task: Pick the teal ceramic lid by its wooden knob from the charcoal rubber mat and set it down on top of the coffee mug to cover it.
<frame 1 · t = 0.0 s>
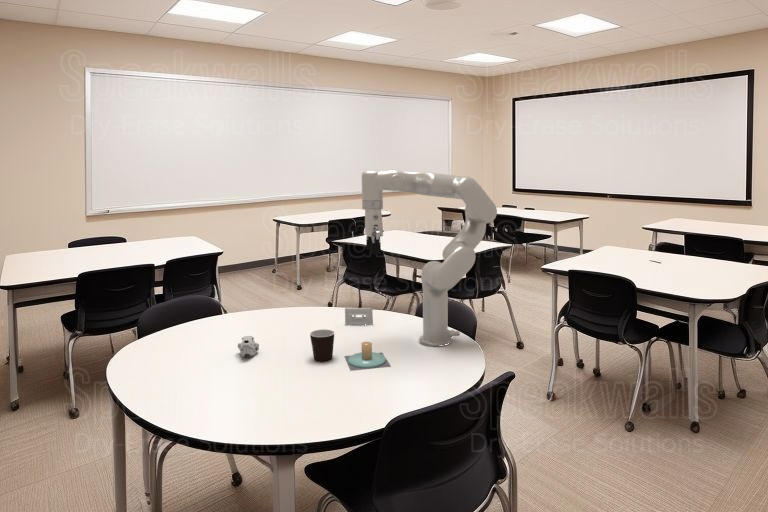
hand: (373, 251, 193), 37 cm above the table, tool pointing down, fingers open, 9 cm apart
coffee mug: (324, 359, 188), on the table
cassette: (359, 325, 227), on the table
lid: (367, 361, 183), point 1 cm above the table, touching mat
skull: (247, 355, 193), on the table
mat: (367, 362, 184), on the table
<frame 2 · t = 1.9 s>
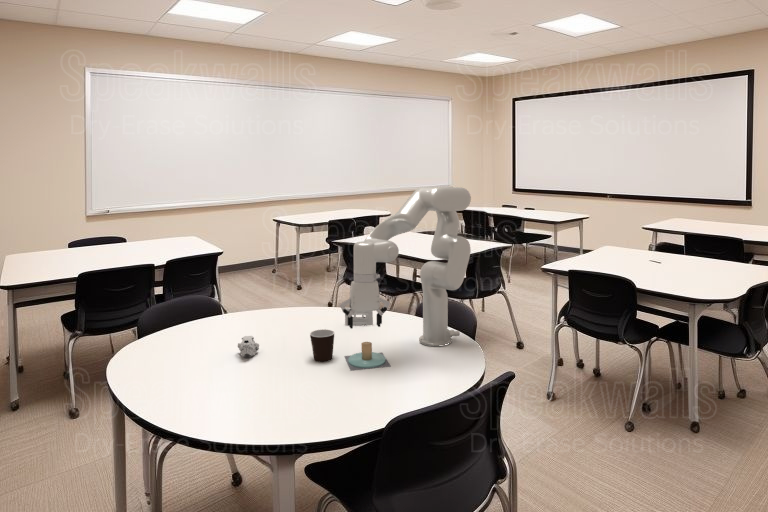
hand: (364, 326, 181), 13 cm above the table, tool pointing down, fingers open, 9 cm apart
nothing on the table moved.
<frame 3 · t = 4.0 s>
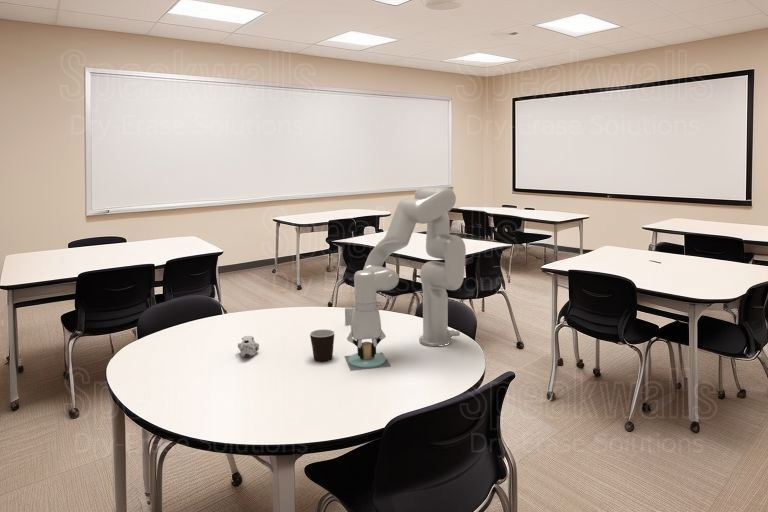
hand: (366, 356, 183), 2 cm above the table, tool pointing down, fingers closed on lid, 3 cm apart
lid: (367, 361, 183), point 1 cm above the table, touching gripper, mat
everything else where it was.
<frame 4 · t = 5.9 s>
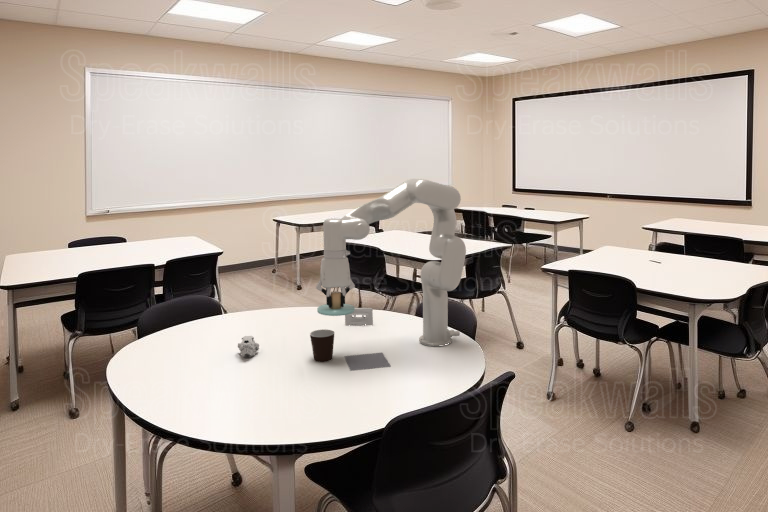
hand: (335, 306, 183), 20 cm above the table, tool pointing down, fingers closed on lid, 3 cm apart
lid: (336, 310, 183), point 18 cm above the table, touching gripper
everything else where it was.
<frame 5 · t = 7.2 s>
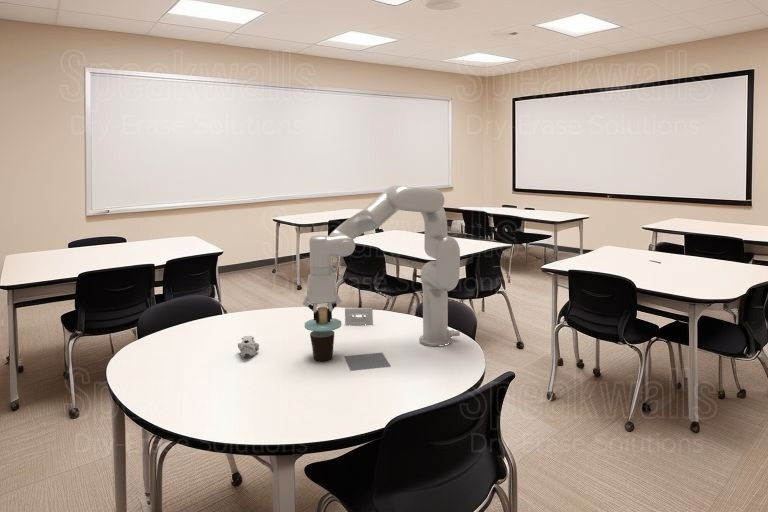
hand: (322, 321, 186), 14 cm above the table, tool pointing down, fingers closed on lid, 3 cm apart
lid: (323, 325, 186), point 12 cm above the table, touching gripper
everything else where it was.
when the fingers open (13 cm above the table, at t = 8.0 s): lid drops 2 cm, resting on coffee mug.
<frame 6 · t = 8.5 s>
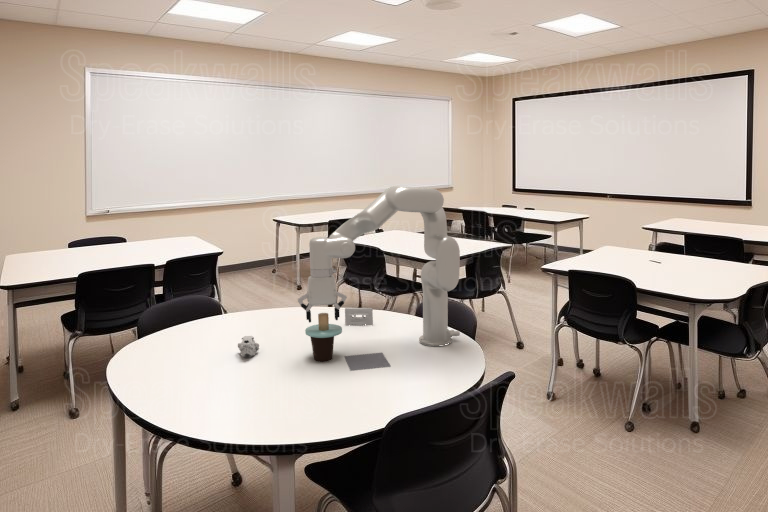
hand: (323, 320, 186), 14 cm above the table, tool pointing down, fingers open, 9 cm apart
coffee mug: (324, 359, 188), on the table, touching lid
lid: (323, 331, 187), point 10 cm above the table, touching coffee mug
everything else where it was.
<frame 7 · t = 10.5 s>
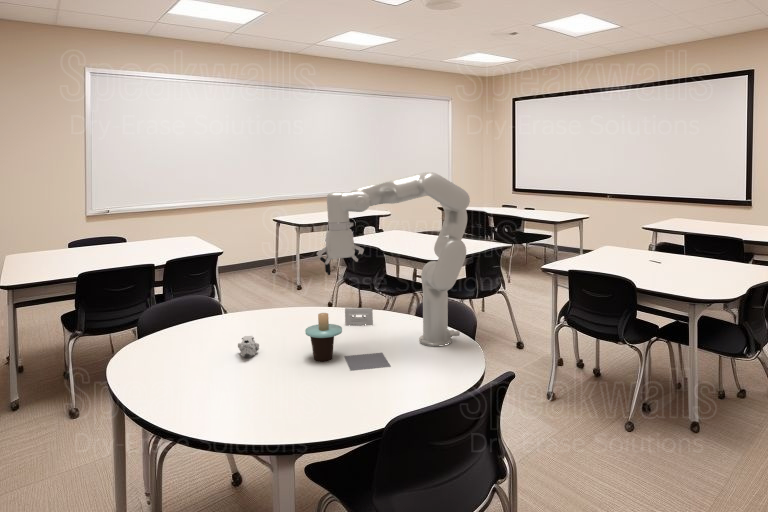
hand: (341, 273, 192), 29 cm above the table, tool pointing down, fingers open, 9 cm apart
nothing on the table moved.
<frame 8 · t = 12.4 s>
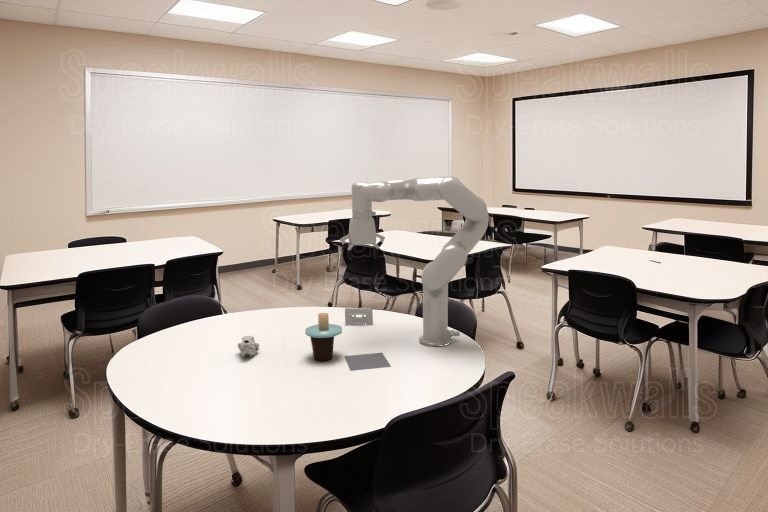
hand: (363, 259, 203), 32 cm above the table, tool pointing down, fingers open, 9 cm apart
nothing on the table moved.
at the end: lid inside the target area on the coffee mug (0.1 cm from its centre), point 10.2 cm above the coffee mug's base; lid tilted 0°; the gripper is holding nothing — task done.
